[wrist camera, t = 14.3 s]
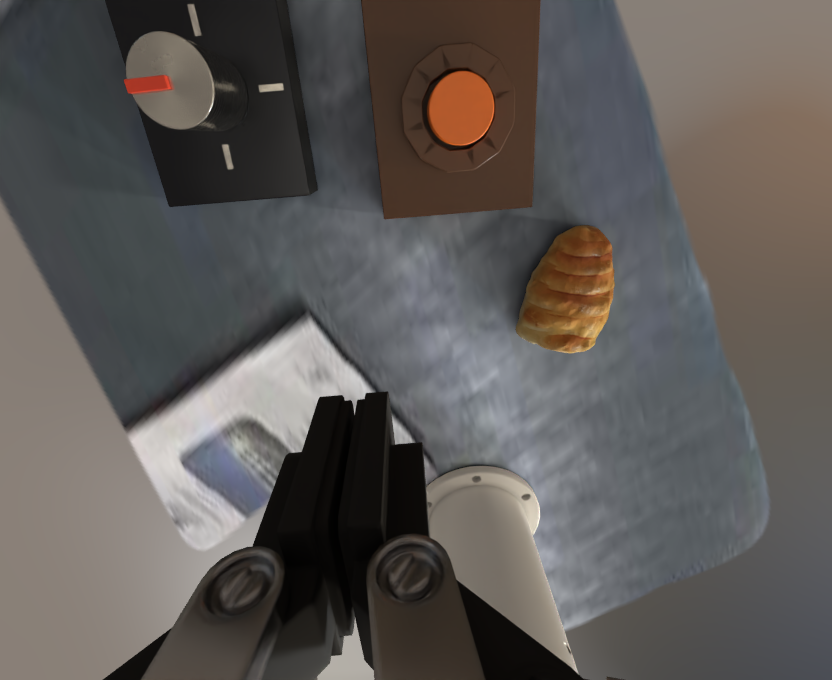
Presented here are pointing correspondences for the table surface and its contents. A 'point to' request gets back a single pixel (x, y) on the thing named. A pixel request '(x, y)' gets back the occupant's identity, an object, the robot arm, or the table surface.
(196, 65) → the dial
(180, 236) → the table surface
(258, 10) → the dial panel
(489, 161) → the block
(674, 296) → the table surface
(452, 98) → the button
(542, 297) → the pastry
